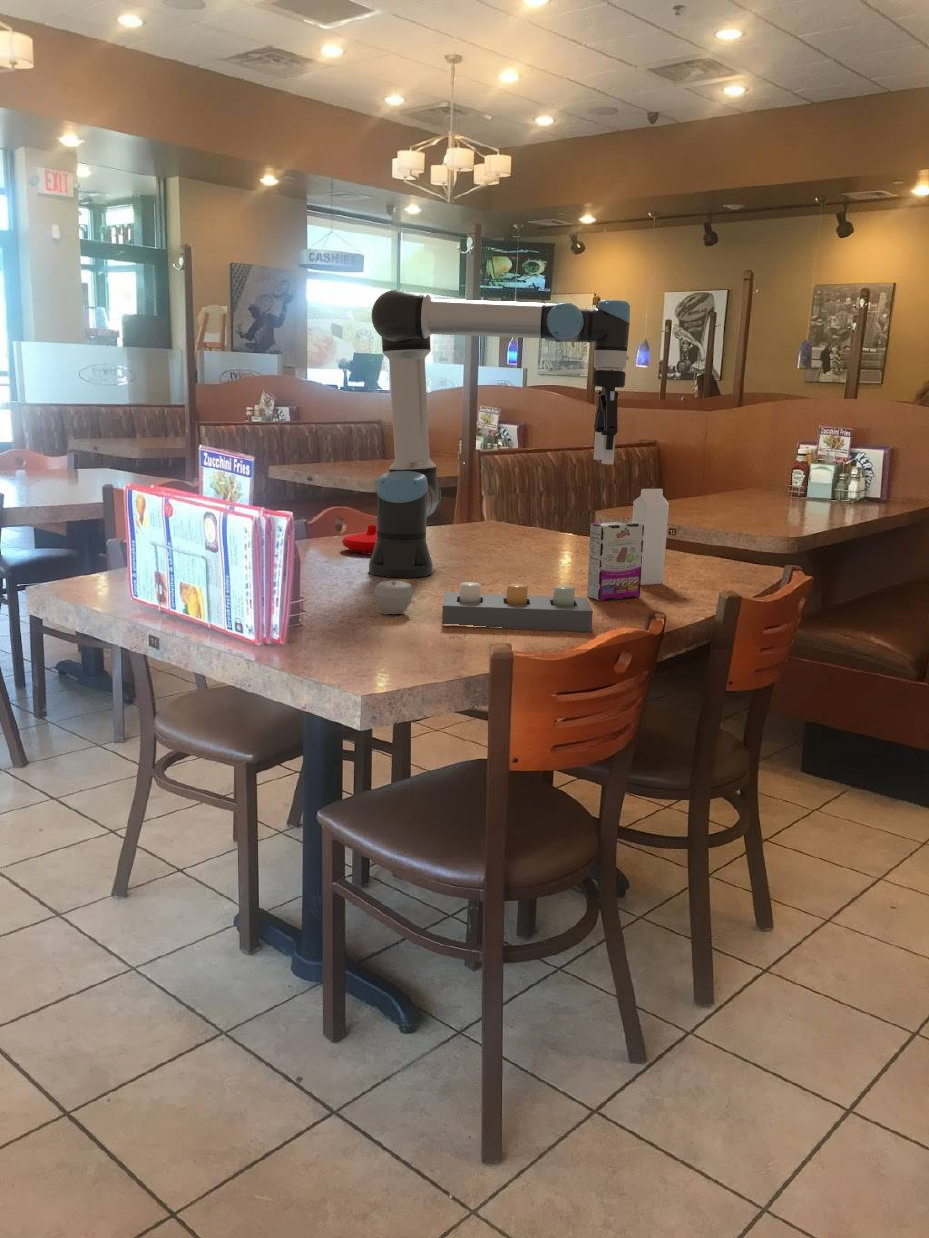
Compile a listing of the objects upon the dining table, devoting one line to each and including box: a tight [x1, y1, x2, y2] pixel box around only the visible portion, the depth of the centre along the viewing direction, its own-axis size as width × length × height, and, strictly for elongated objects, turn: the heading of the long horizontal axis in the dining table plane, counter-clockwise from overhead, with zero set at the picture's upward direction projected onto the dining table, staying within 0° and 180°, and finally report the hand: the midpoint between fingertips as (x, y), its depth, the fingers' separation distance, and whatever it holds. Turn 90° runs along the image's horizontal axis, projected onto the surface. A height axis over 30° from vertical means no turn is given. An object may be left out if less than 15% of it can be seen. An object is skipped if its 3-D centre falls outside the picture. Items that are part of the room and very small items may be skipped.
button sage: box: [552, 585, 576, 606], centre depth 192 cm, size 4×4×4 cm
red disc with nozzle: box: [341, 524, 377, 554], centre depth 265 cm, size 16×16×7 cm
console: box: [441, 592, 594, 633], centre depth 193 cm, size 28×12×4 cm, turn 89°
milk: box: [631, 488, 670, 586], centre depth 234 cm, size 6×6×22 cm
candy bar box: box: [586, 520, 644, 602], centre depth 216 cm, size 11×5×16 cm, turn 117°
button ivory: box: [459, 581, 482, 603], centre depth 192 cm, size 4×4×4 cm
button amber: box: [506, 583, 529, 605], centre depth 192 cm, size 4×4×4 cm
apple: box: [373, 580, 414, 615], centre depth 196 cm, size 8×8×7 cm
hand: (603, 461), depth 238 cm, fingers open, 13 cm apart
